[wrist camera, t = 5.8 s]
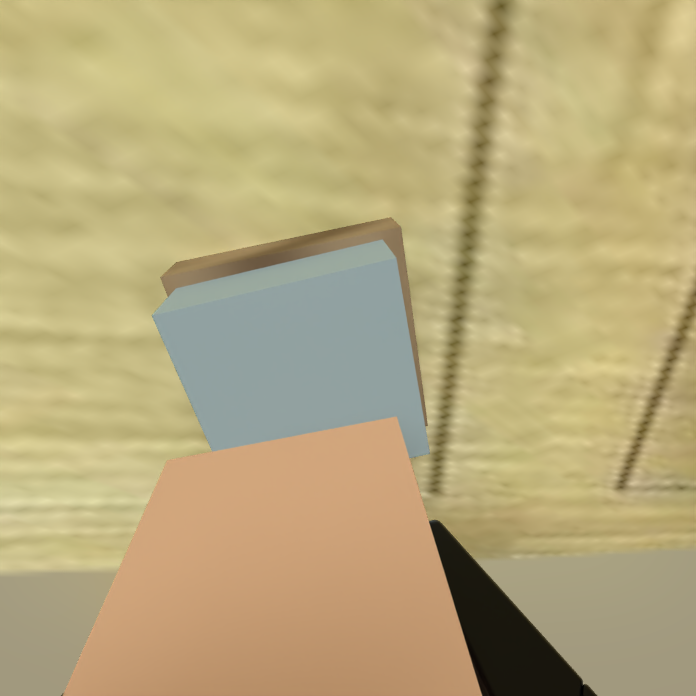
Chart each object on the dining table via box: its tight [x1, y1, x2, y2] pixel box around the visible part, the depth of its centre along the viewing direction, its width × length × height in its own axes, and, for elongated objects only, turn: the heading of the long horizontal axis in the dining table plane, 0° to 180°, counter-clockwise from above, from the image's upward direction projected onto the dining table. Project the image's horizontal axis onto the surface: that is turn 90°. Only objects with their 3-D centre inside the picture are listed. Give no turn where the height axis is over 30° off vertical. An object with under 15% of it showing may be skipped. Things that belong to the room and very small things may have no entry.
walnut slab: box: [160, 217, 428, 426], centre depth 17 cm, size 8×8×2 cm
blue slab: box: [152, 239, 430, 458], centre depth 15 cm, size 7×7×2 cm
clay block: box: [63, 416, 482, 696], centre depth 7 cm, size 4×4×5 cm
